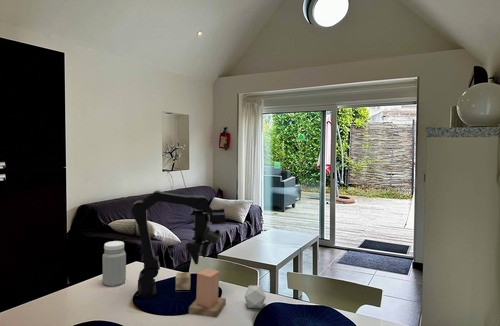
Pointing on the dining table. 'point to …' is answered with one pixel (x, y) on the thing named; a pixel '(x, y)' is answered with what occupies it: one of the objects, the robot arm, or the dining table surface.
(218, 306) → the slab
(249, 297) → the die
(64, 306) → the dining table surface
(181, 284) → the oak cube
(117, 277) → the jar
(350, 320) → the dining table surface
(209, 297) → the pillar
